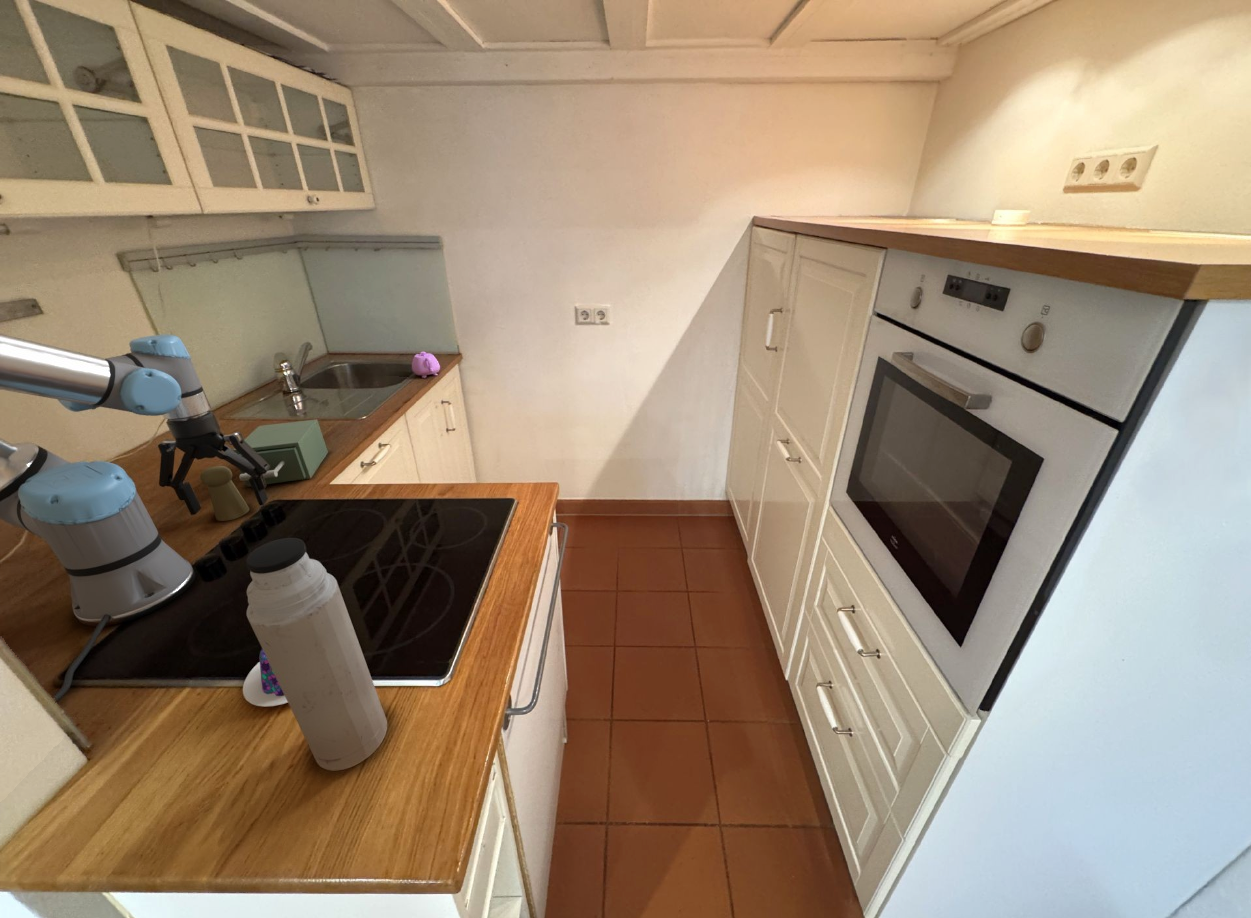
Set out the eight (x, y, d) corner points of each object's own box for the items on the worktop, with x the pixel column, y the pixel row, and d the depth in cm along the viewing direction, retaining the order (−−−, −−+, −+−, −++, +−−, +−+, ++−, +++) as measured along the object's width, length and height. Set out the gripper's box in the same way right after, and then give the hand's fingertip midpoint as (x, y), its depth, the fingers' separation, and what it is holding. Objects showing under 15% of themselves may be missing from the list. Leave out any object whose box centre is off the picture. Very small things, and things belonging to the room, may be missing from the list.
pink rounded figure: (420, 380, 196) (415, 357, 192) (407, 373, 207) (402, 350, 203) (446, 375, 202) (441, 352, 198) (432, 368, 213) (427, 346, 209)
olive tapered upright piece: (210, 516, 108) (189, 472, 103) (240, 503, 113) (221, 460, 108) (225, 523, 106) (204, 477, 101) (255, 509, 110) (236, 465, 106)
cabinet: (310, 478, 123) (298, 442, 119) (247, 486, 120) (232, 450, 116) (328, 452, 137) (317, 419, 133) (272, 459, 134) (259, 425, 130)
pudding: (305, 630, 77) (294, 604, 75) (362, 652, 73) (352, 625, 70) (224, 693, 67) (208, 665, 65) (284, 723, 63) (270, 694, 60)
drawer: (295, 491, 115) (284, 461, 112) (233, 500, 113) (220, 469, 109) (321, 454, 134) (312, 426, 131) (269, 460, 131) (258, 432, 128)
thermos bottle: (298, 760, 58) (202, 569, 46) (350, 702, 65) (278, 522, 53) (353, 779, 56) (268, 583, 44) (401, 717, 63) (339, 533, 51)
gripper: (265, 401, 105) (298, 490, 115) (128, 415, 100) (175, 507, 109) (250, 413, 98) (286, 506, 108) (103, 429, 93) (155, 525, 103)
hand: (230, 506), depth 109 cm, fingers open, 12 cm apart
